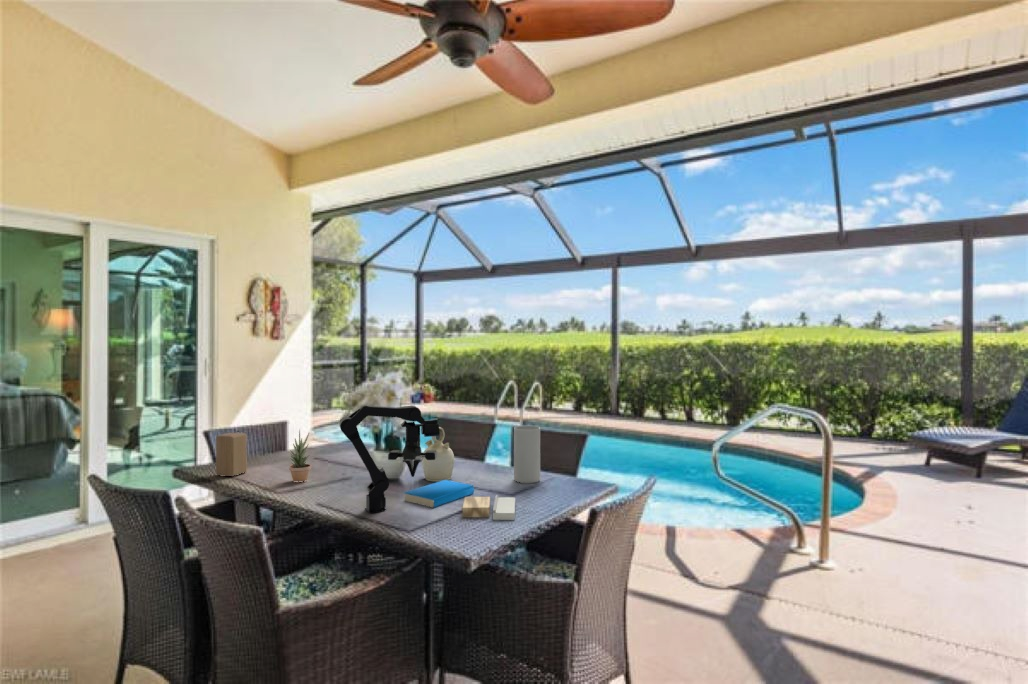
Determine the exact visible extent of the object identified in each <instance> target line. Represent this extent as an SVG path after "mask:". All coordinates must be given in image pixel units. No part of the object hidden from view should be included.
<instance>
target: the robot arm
mask: <svg viewBox="0 0 1028 684" xmlns="http://www.w3.org/2000/svg"><path fill="white" fill-rule="evenodd" d="M367 417H385V418H397V419H402V420H404V421H403V422H402V423H401V424H400V427H401V428H405V442H404V443H405V444H404V447H403V451H401V449H393V450H390V452H389V453H388V454H387V460H389V461H396V460H397V459H398V458H402V462H403V463H406V465H407V469H408V470H409V473H410V476H411V478H412V477H413V478H414V477H415V474H416V472H417V469H418V466H419V464H420V463H422V460H423V457H425V458H426V459H427V460H435V459H436V458H437V451H436V450H427V451H426V453H424V452H422V447H421V435H423V437H425V438H428V437H431V436H436V437H440V431H439V427H440V425H439V419H435V418H433V419H425V418H424V417H423V416H422V411H421V410H420V408H418V406H415V405H413V404H411V405H404V406H399V407H398V406H397V407H394V406H380V405H378V406H377V405H367V404H362V405H361V406H360V407H359V408H358V409H356V410H355V411H353V413H351V414H350V415H349V416H345V417H343V418H341V419H340V421H339V428H340V431H341V432H342V433H343V434H344V436H345V437H346V438H347V439H348V440H349V441H350V443H352V446H353V447H354V449H355V450H356V452H357V454H358V455H359V458H360V460H361V461H362V463H363V464H364V466H365V468H366V470H367V472H368V474H369V476H370V480H371V482H370V484H368V485H367V487H366V490H367V493H368V494H366V495H365V497H366V498H365V500H366V501H365V502H366V507H365V508H364V511H366V512H368V513H369V514H374V513H375V514H376V513H379V512H386V511H387V508H386V507H387V506H386V504H387V503H386V502H387V501H386V499H387V498H386V496H385V495H386V494H385V492H386V491H387V490H388V488H389V486H390V478H389V476H388V474H386V471H385V469H384V467H381V468H379V467H378V466H377V464H376V463H375V461H374V459H373V456H371V454H370V452H369V450H368V449H367V447H366V445H365V443H364V442H363V439H362V438H361V435H360V432H359V430H358V425H359V424H360V423H362V422H363V420H365V419H366V418H367ZM407 421H408V422H407ZM416 422H417V423H416ZM431 438H432V437H431ZM385 510H386V511H385Z"/></svg>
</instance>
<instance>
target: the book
mask: <svg viewBox="0 0 1028 684" xmlns="http://www.w3.org/2000/svg"><path fill="white" fill-rule="evenodd" d="M474 493H475V488H474V484H473V485H472V484H468V483H462V482H457V481H453V480H443V481H440V482H433V483H429V484H427V485H425V486H420V487H416V488H414V489H411V490H410V489H409V490H407V491H404V501H405V502H409V503H413V504H417V503H418V505H421V504H423V505H422V506H425V505H426V506H425V507H429V506H430V508H436V507H438V506H439V507H440V506H441V504H442V505H444V504H447V502H448V503H451V502H453V501H456V500H458V499H461V498H465V497H468V496H470V495H473V494H474Z"/></svg>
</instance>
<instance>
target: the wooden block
mask: <svg viewBox="0 0 1028 684" xmlns="http://www.w3.org/2000/svg"><path fill="white" fill-rule="evenodd" d="M247 439H248V438H247V433H245V432H231V431H230V432H228V433H227V432H225V433H222V434H218V435H216V438H215V448H216V449H215V465H216V466H215V474H217V475H225V476H234V475H237V474H240V473H243V472H246V473H247V466H248V465H247V464H248V463H247V462H248V461H247V457H248V456H247V455H248V453H247V447H248V446H247V444H248V443H247V442H248V441H247ZM217 475H216V476H217ZM234 477H235V476H234Z"/></svg>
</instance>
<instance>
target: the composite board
mask: <svg viewBox="0 0 1028 684" xmlns="http://www.w3.org/2000/svg"><path fill="white" fill-rule="evenodd" d="M493 501H494V502H493V508H492V520H497V521H500V520H502V521H505V520H506V521H511V520H512V521H515V517H516V515H515V514H516V513H515V512H516V497H508V496H507V497H499V495H498V494H496V495H495V497H494V500H493Z"/></svg>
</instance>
